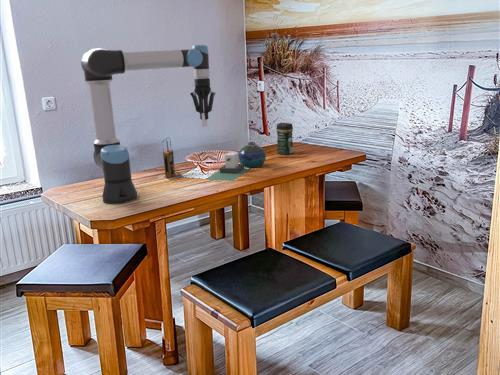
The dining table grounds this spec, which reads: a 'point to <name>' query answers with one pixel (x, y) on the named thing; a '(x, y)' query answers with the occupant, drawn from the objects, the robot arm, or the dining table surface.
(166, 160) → the multimeter
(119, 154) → the robot arm
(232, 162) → the plug
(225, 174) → the board
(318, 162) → the dining table surface
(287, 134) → the coffee jar
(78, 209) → the dining table surface
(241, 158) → the vase
